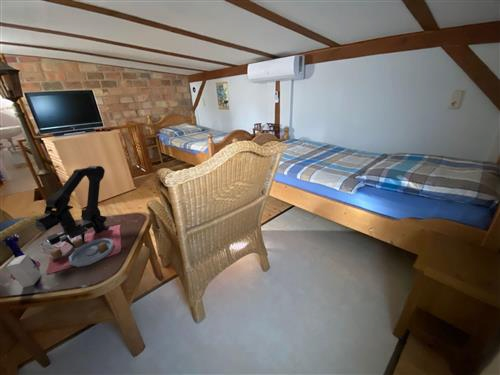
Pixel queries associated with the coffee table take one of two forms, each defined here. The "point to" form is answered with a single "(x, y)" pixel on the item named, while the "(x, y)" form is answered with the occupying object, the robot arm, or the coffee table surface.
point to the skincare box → (24, 270)
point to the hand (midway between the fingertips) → (79, 244)
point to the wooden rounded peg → (102, 247)
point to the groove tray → (89, 253)
